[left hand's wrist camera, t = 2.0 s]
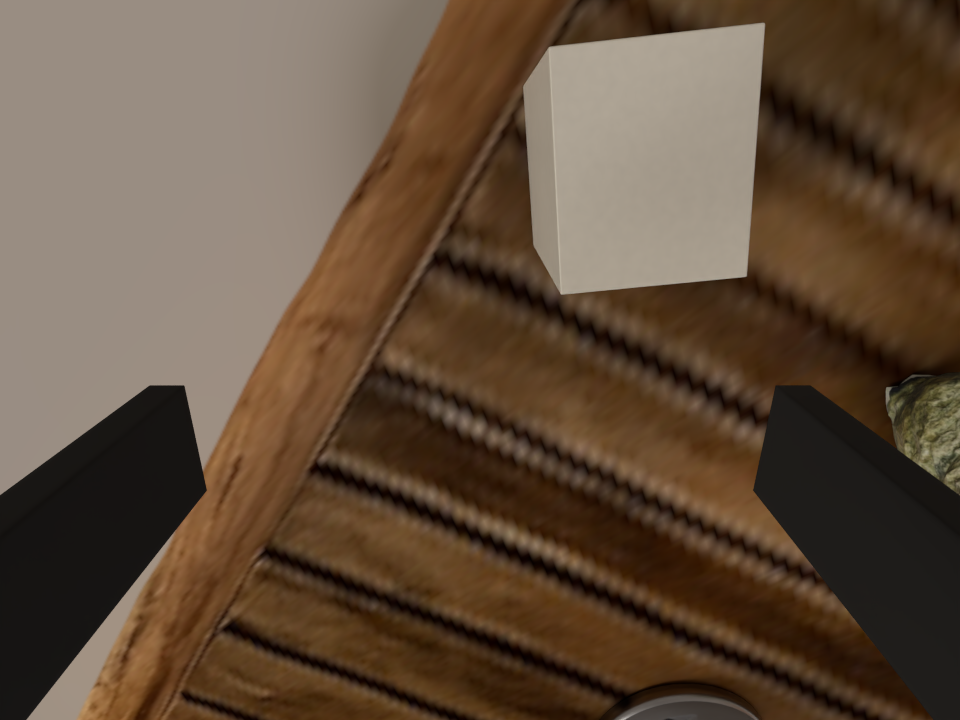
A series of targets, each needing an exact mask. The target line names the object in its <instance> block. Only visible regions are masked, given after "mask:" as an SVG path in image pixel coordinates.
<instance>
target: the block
mask: <svg viewBox="0 0 960 720" xmlns="http://www.w3.org/2000/svg"><path fill="white" fill-rule="evenodd" d="M764 32H765V23H755V24H747V25H738V26H729V27H720V28H711V29H702V30H693V31H685V32H676V33H667V34H658V35H649V36H640V37H631V38H622V39H614V40H605V41H596V42H587V43H578V44H569V45H560V46H552V47H549V48H548V50H547V51H546V53H545V54H544V56H543V57H542V59H541V60H540V62H539V63H538V65H537V66H536V68H535V69H534V71H533V72H532V74H531V75H530V77H529V78H528V80H527V81H526V83H525V84H524V86H523V90H524V105H525V121H526V136H527V152H528V167H529V183H530V198H531V214H532V229H533V245H534V247H535V249H536V251H537V252H538V254H539V256H540V258H541V260H542V261H543V263H544V265H545V267H546V268H547V270H548V272H549V274H550V276H551V277H552V279H553V281H554V283H555V284H556V286H557V288H558V290H559V292H560V293H561V294H573V293H583V292H593V291H604V290H614V289H624V288H635V287H645V286H655V285H666V284H676V283H686V282H697V281H707V280H718V279H728V278H738V277H746V276H747V266H748V253H749V239H750V225H751V211H752V198H753V184H754V170H755V156H756V143H757V129H758V115H759V101H760V87H761V74H762V60H763V46H764Z"/></svg>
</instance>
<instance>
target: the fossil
mask: <svg viewBox="0 0 960 720" xmlns="http://www.w3.org/2000/svg"><path fill="white" fill-rule="evenodd" d="M886 407H887V412H888V414H889V416H890V418H891V420H892V424H893V425H892V427H893V433H894V438H895V442H896V446H897V450H899V451H900V452H902V453H903V454H904V455H906V456H907V457H908V458H910V459H911V460H912V461H914V462H915V463H917V464H918V465H919V466H921V467H922V468H923V469H925V470H926V471H927V472H929V473H930V474H932V475H933V476H934V477H936V478H937V479H938V480H940V481H941V482H942V483H944V484H945V485H947V486H948V487H949V488H951V489H952V490H953V491H955V492H956V493H957V494H959V495H960V372H954V373H945V374H942V375H938V376H932V375H911V376H910V377H909V378H907V379H906V380H904V381H903V382H902V383H901V384H900V385H899V386H894V387H886Z"/></svg>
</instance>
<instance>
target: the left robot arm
mask: <svg viewBox="0 0 960 720" xmlns="http://www.w3.org/2000/svg"><path fill="white" fill-rule="evenodd" d="M206 491H207V489H206V485H205V480H204V475H203V471H202V466H201V461H200V457H199V452H198V447H197V443H196V438H195V433H194V429H193V424H192V419H191V415H190V410H189V405H188V401H187V396H186V391H185V387H184V386H148V387H147V388H146V389H144V390H143V391H142V392H140V393H139V394H138V395H136V396H135V397H133V398H132V399H131V400H129V401H128V402H127V403H125V404H124V405H123V406H121V407H120V408H118V409H117V410H116V411H114V412H113V413H112V414H110V415H109V416H108V417H106V418H105V419H103V420H102V421H101V422H99V423H98V424H97V425H95V426H94V427H93V428H91V429H90V430H88V431H87V432H86V433H84V434H83V435H82V436H80V437H79V438H78V439H76V440H75V441H74V442H72V443H71V444H69V445H68V446H67V447H65V448H64V449H63V450H61V451H60V452H58V453H57V454H56V455H54V456H53V457H52V458H50V459H49V460H48V461H46V462H45V463H43V464H42V465H41V466H39V467H38V468H37V469H35V470H34V471H33V472H31V473H30V474H28V475H27V476H26V477H24V478H23V479H22V480H20V481H19V482H18V483H16V484H15V485H14V486H12V487H11V488H9V489H8V490H7V491H5V492H4V493H3V494H1V495H0V720H26V719H27V718H28V717H29V716H30V714H31V713H32V712H33V711H34V709H35V708H36V707H37V705H38V704H39V703H40V702H41V700H42V699H43V698H44V697H45V695H46V694H47V693H48V691H49V690H50V689H51V688H52V686H53V685H54V684H55V682H56V681H57V680H58V679H59V678H60V676H61V675H62V674H63V672H64V671H65V670H66V669H67V667H68V666H69V665H70V664H71V662H72V661H73V660H74V658H75V657H76V656H77V655H78V653H79V652H80V651H81V650H82V648H83V647H84V646H85V644H86V643H87V642H88V641H89V639H90V638H91V637H92V636H93V634H94V633H95V632H96V631H97V629H98V628H99V627H100V625H101V624H102V623H103V622H104V620H105V619H106V618H107V616H108V615H109V614H110V613H111V611H112V610H113V609H114V608H115V606H116V605H117V604H118V603H119V601H120V600H121V599H122V597H123V596H124V595H125V594H126V592H127V591H128V590H129V589H130V587H131V586H132V585H133V583H134V582H135V581H136V580H137V578H138V577H139V576H140V575H141V573H142V572H143V571H144V570H145V568H146V567H147V566H148V564H149V563H150V562H151V561H152V559H153V558H154V557H155V555H156V554H157V553H158V552H159V550H160V549H161V548H162V547H163V545H164V544H165V543H166V542H167V540H168V539H169V538H170V537H171V535H172V534H173V533H174V531H175V530H176V529H177V528H178V526H179V525H180V524H181V523H182V521H183V520H184V519H185V517H186V516H187V515H188V514H189V512H190V511H191V510H192V509H193V507H194V506H195V505H196V503H197V502H198V501H199V500H200V498H201V497H202V496H203V495H204V493H205V492H206ZM753 491H754V492H755V493H756V495H757V496H758V497H759V498H760V500H761V501H762V502H763V503H764V505H765V506H766V507H767V509H768V510H769V511H770V512H771V514H772V515H773V516H774V517H775V519H776V520H777V521H778V523H779V524H780V525H781V526H782V528H783V529H784V530H785V531H786V533H787V534H788V535H789V537H790V538H791V539H792V540H793V542H794V543H795V544H796V545H797V547H798V548H799V549H800V550H801V552H802V553H803V554H804V556H805V557H806V558H807V559H808V561H809V562H810V563H811V564H812V566H813V567H814V568H815V570H816V571H817V572H818V573H819V575H820V576H821V577H822V578H823V580H824V581H825V582H826V584H827V585H828V586H829V587H830V589H831V590H832V591H833V592H834V594H835V595H836V596H837V597H838V599H839V600H840V601H841V603H842V604H843V605H844V606H845V608H846V609H847V610H848V611H849V613H850V614H851V615H852V617H853V618H854V619H855V620H856V622H857V623H858V624H859V625H860V627H861V628H862V629H863V631H864V632H865V633H866V634H867V636H868V637H869V638H870V639H871V641H872V642H873V643H874V645H875V646H876V647H877V648H878V650H879V651H880V652H881V653H882V655H883V656H884V657H885V658H886V660H887V661H888V662H889V664H890V665H891V666H892V667H893V669H894V670H895V671H896V672H897V674H898V675H899V676H900V678H901V679H902V680H903V681H904V683H905V684H906V685H907V686H908V688H909V689H910V690H911V692H912V693H913V694H914V695H915V697H916V698H917V699H918V700H919V702H920V703H921V704H922V705H923V707H924V708H925V709H926V711H927V712H928V713H929V714H930V716H931V717H932V718H933V719H934V720H960V495H959V494H957V493H956V492H955V491H953V490H952V489H951V488H949V487H948V486H947V485H945V484H944V483H942V482H941V481H940V480H938V479H937V478H936V477H934V476H933V475H932V474H930V473H929V472H927V471H926V470H925V469H923V468H922V467H921V466H919V465H918V464H917V463H915V462H914V461H912V460H911V459H910V458H908V457H907V456H906V455H904V454H903V453H902V452H900V451H899V450H897V449H896V448H895V447H893V446H892V445H891V444H889V443H888V442H887V441H885V440H884V439H882V438H881V437H880V436H878V435H877V434H876V433H874V432H873V431H872V430H870V429H869V428H867V427H866V426H865V425H863V424H862V423H861V422H859V421H858V420H857V419H855V418H854V417H852V416H851V415H850V414H848V413H847V412H846V411H844V410H843V409H842V408H840V407H839V406H837V405H836V404H835V403H833V402H832V401H831V400H829V399H828V398H827V397H825V396H824V395H822V394H821V393H820V392H818V391H817V390H816V389H814V388H813V387H812V386H776V387H775V391H774V396H773V401H772V405H771V410H770V415H769V419H768V424H767V429H766V433H765V438H764V443H763V447H762V452H761V457H760V461H759V466H758V471H757V475H756V480H755V485H754V489H753ZM600 720H761V718H760V716H759V715H758V713H757V712H756V710H755V709H754V708H753V707H752V706H751V705H750V704H749V703H748V702H746V701H745V700H744V699H742V698H741V697H739V696H737V695H735V694H734V693H731V692H729V691H727V690H724V689H721V688H717V687H713V686H708V685H702V684H672V685H665V686H660V687H655V688H652V689H648V690H645V691H642V692H639V693H637V694H635V695H632V696H630V697H628V698H626V699H625V700H623V701H621V702H620V703H618V704H616V705H615V706H614V707H612V708H611V709H610V710H609V711H608V712H607V713H605V714H604V715H603V716H602V718H601V719H600Z"/></svg>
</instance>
